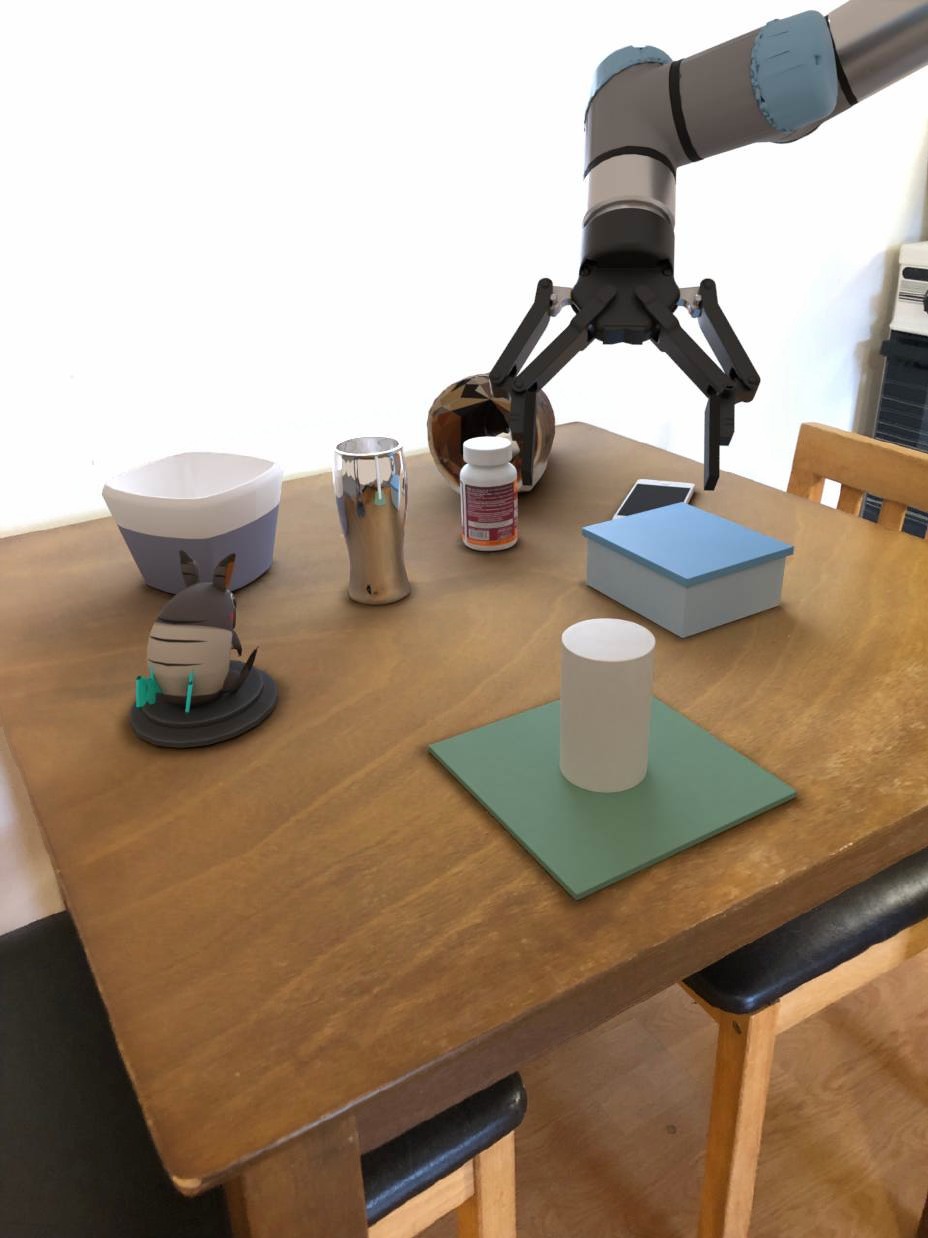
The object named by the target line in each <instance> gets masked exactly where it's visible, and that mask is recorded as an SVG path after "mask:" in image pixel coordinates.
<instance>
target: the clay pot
mask: <svg viewBox="0 0 928 1238" xmlns="http://www.w3.org/2000/svg"><path fill="white" fill-rule="evenodd" d="M490 372H491V371H489V372H486V373H477V374H473V375H469V376H466V377H464V378H462V379H459V380H458V381H455V382H454V383H451V384H450V385H448V386H447V387H446V388H444V389H443V390H442V391H441V393H439V394H438V396H437V397H435V399H434V400H433V402H432V403H431V406H430V408H429V410H428V412H427V413H428V414H427V420H426V431H427V432H426V433H427V445H428V449H429V452H430V455H431V457H432V459H433V462H434V465H435V466H436V468H437V470H438V472H439V473H440V474H441V476H442V477H443V478H444V480H445V481H447V483H448V484H449V486H450V488H451V489H453V491H454V492H456V493H458V494H459V495H461V490H460V472H461V470H462V468H463V467H464V466H465V465H466V464H468V463H466V462H465V461H464V459H463V454H464V452H463V444H464V442H465V441H467V440H469V439H473V438H478V437H498V436H499V435H501V434H507V435H509V434H510V430H509V421H510V406H511V402H510V401H509V400H508V399H505V398H503V397H502V398H495V397H493V396H492V394H491V389H490V382H489V373H490ZM517 376H518V375H517ZM517 376H516V377H517ZM536 401H537V417H536V433H535V450H534V467H533V483H532V486H525V485H522V476H521V462H522V447H523V441H515V443H516V445H517V447H518V449H519V451H518V453H517V454H516V456H515V458H514V460H511V461H509V463H511V464H512V465H513V466H514V467H515V469H516V471H517V495H518V494H523V493H528V492H531V491H532V490H533V488H534V486H536V484H537V483H538V481H539V480H540V479H541V478H542V476H543V474H544V473H545V471H546V469H547V467H548V460H549V456H550V453H551V451H552V448H553V443H554V440H555V437H556V417H555V411H554V409H553V405H552V403H551V401H550V399H549V397H548V395H547V393H545V391H544V390H543V388H542V389H541V390H540V391H539V392H538V393H537V394H536Z"/></svg>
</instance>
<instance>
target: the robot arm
mask: <svg viewBox="0 0 928 1238" xmlns="http://www.w3.org/2000/svg"><path fill="white" fill-rule="evenodd" d="M926 66H928V0H848V1H846V2H844V3H843V4H841V5H839V6H838V7H836V8H834V9H833V10H831V11H830V12H828V13H827V14H826V15H824V14H822V13H821V12H820V11H819V10H815V9H808V10H804V11H801V12H800V13H796V14H793V15H791V16H788V17H785V18H781V19H779V18H774V19H773V20H770V21H767V22H766V23H765V25H763V26H760V27H758V28H755V29H753V30H750V31H747V32H746V33H742V34H741V35H738V36H735V37H734V38H731V39H729V40H725V41H723V42H721V43H719V44H716V45H714V46H711V47H709V48H707V49H704V50H702V51H700V52H697V53H694V54H692V55H690V56H687V57H683V58H680V59H678V60H673V59H672V57H671V56H670V55H669V54H667V52H666V51H664V50H663V49H661V48H659V47H656V46H654V45H649V44H647V45H644V46H642V47H641V46H640V47H639V46H633V44H631V45H630V44H629V45H626V46H621V47H620V48H618V49H615V50H613V51H612V52H610V53H609V54H608V55H606V56H605V57H604V58H603V59H602V60H600V62H599V63H598V64H597V66H596V67H595V69H594V71H593V73H592V75H591V78H590V81H589V86H588V92H587V102H586V107H585V110H584V117H583V124H584V128H583V131H584V153H583V154H584V155H583V175H582V176H583V180H582V185H581V198H580V200H581V201H580V221H579V229H580V235H579V240H578V241H579V243H578V260H577V261H578V262H577V279H576V281H575V283H574V284H573V286H572V287H569V286H568V287H567V286H558V285H554V282H553V281H552V279H551V278H549V277H543V278H540V279H539V280H538V282H537V284H536V290H535V295H534V301H533V303H532V304H531V307H530V308H529V310H528V311H527V313H526V314H525V316H524V318H523V319H522V320H521V322H520V324H519V325H518V327H517V328H516V330H515V332H514V334H513V335H512V337H511V338H510V339H509V341H508V343H507V345H506V346H505V348H504V349H503V351H502V353H501V354H500V356H499V357H498V359H497V361H496V362H495V364H494V365H493V367H492V368H491V370H490V371H489V372H490V373H489V372H488V373H489V382H490V389H491V394H492V396H493V397H495V398H502V397H503V398H505V399H508V400H509V401H510V402H511V406H510V421H509V430H510V432H509V437H510V438H511V442H516V441H523V447H522V462H521V476H522V485H525V486H532V483H533V467H534V450H535V433H536V417H537V401H536V394H537V393H538V392H539V391H540V390H541V389H542V390H543V388H544V387H545V386H546V385H547V384H548V383H549V382H550V381H552V379H554V377H555V376H556V375H557V374H558V373H559V372H560V371H562V370H563V368H565V366H566V365H567V364H568V363H569V362H570V361H572V360H573V358H574V357H576V356H577V355H578V353H580V352H584V351H585V350H586V349H587V348H588V347H589V346H590V345H591V344H592V343H593V342H594V341H595V340H596V341H599V342H602V346H603V345H610V346H611V345H617V344H621V343H623V344H628V345H632V346H643V343H644V342H645V343H646V342H647V341H650V342H651V343H652V344H653V345H654V346H655V347H656V348H657V350H659V351H660V352H661V353H665V354H666V355H667V356H668V357H669V358H670V359H671V361H672V362H673V363H674V364H675V365H676V367H678V368H679V369H680V370H681V371H682V372H683V374H684V375H685V376H687V378H688V379H689V380H690V381H691V382H692V383H693V384H694V385H695V386H696V387H697V389H698V390H699V391H700V392H701V393H702V394H703V395H704V396H705V397H706V398H707V402H706V404H705V405H706V406H705V409H704V418H703V419H704V425H703V426H704V427H703V428H704V429H703V431H704V433H703V436H704V437H703V492H704V491H706V492H707V491H709V492H714V491H715V489H716V486H717V485H718V481H719V479H720V471H721V469H720V465H721V463H720V462H721V457H720V455H721V453H720V451H721V447H729V446H730V444H731V442H732V439H733V437H734V434H735V430H736V429H735V424H736V422H735V419H736V417H735V415H736V414H735V411H736V410H735V409H736V405H737V404H740V403H746V404H749V403H751V402H753V400H754V399H755V397H756V395H757V392H758V389H759V387H760V384H761V376H760V374H759V373H758V371H757V369H756V368H755V366H754V364H753V362H752V361H751V359H750V357H749V355H748V353H747V352H746V350H745V348H744V347H743V345H742V343H741V341H740V340H739V338H738V336H737V334H736V333H735V330H734V329H733V327H732V325H731V323H730V322H729V320H728V318H727V317H726V314H725V313H724V311H723V309H722V308H721V306H720V304H719V300H718V291H717V283H716V281H715V280H714V279H713V278H708V277H707V278H703V279H701V281H700V283H699V286H689V287H688V286H687V287H679V286H678V284H677V282H676V280H675V251H676V250H675V248H676V247H675V244H676V242H675V241H676V235H675V227H676V206H677V205H676V199H677V198H676V196H677V193H676V192H677V171H678V168H679V167H683V166H687V165H690V164H693V163H698V162H700V161H703V160H705V159H707V158H711V157H713V156H717V155H720V154H723V153H727V152H730V151H734V150H736V149H737V150H738V149H740V148H743V147H746V146H749V145H753V144H757V143H759V144H761V143H773V144H778V145H784V144H785V145H786V144H792V143H795V142H797V141H799V140H801V139H803V138H805V137H808V136H810V135H811V134H813V133H814V132H816V131H817V130H818V129H819V128H820V126H822V125H823V124H824V123H825V122H827V121H829V120H831V119H833V118H835V117H837V116H839V115H840V114H842V113H844V112H846V111H847V110H849V109H851V108H852V107H854V106H855V105H857V104H859V103H861V102H863V101H864V100H866V99H868V98H870V97H872V96H874V95H875V94H877V93H879V92H881V91H883V90H884V89H886V88H889V87H890V86H892V85H894V84H896V83H897V82H900V81H902V80H903V79H905V78H907V77H908V76H911V75H912V74H914V73H916V72H918V71H919V70H921V69H923V68H925V67H926ZM567 306H570V308H571V310H572V311H573V312H574V314H575V315H574V316H573V317H572V318H571V320H570V322H569V324H568V325H567V327H565V329H563V330H562V331H561V332H560V333H559V334H558V335H557V336H556V337H555V338H554V339H553V340H552V341H551V342H550V343H549V344H548V345H547V346H546V347H545V348H544V349H543V350H542V351H541V352H540V353H539V354H538V355H537V356H536V357H535V358H534V359H533V360H532V361H530V363H529V364H528V365H527V366H525V364H526V362H527V360H528V359H529V358H530V355H531V354H532V352H533V351H534V349H535V348H536V346H537V344H538V343H539V341H540V340H541V338H542V336H543V335H544V333H545V331H546V330H547V328H548V326H549V324H550V322H551V321H550V320H551V317H552V318H556V317H557V316H558V315H559V314H560V313H561V311H562V309H563V308H565V307H567ZM678 307H682V308H685V309H686V310H687V313H688V315H690V317H691V318H693V319H697V323H698V326H699V328H700V331H701V333H702V334H703V335H702V336H704V338H705V340H706V342H707V343H708V345H709V347H710V349H711V351H712V352H713V354H714V356H715V358H716V360H717V361H718V364H719V365H718V364H717V363H716V362H715V361H714V360H713V359H712V358H711V357H710V356H709V355H708V354H707V353H706V351H704V350H703V348H702V347H701V346H700V345H699V344H698V343H697V341H695V340H694V338H692V336H690V335H689V334H688V332H687V331H686V330H685V329H684V328H683V327H682V326H681V323H680V320H679V318H677V316H676V315H675V314H674V313H675V312H676V311H677V310H678ZM524 366H525V368H524V369H523V370H522V368H523V367H524ZM720 367H721V368H720ZM516 376H517V377H516Z"/></svg>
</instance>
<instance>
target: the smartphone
mask: <svg viewBox="0 0 928 1238" xmlns="http://www.w3.org/2000/svg"><path fill="white" fill-rule="evenodd" d="M695 487H696V485H695V483H694V482H681V481H669V480H657V479H646V478H645V479H643V478H639V479H637V480H636V482H635V483H634V485H633V486H632V488H631V490H630V491H629V492H628V494H627V495H626V497H625V498H624V500H623V501H622V503H621V505H620V506H619V507H618V509H617V510H616V512H615V513H614V515H613V516H612V519H611V520H614V519H618V518H622V517H626V516H630V515H634V514H638V513H641V512H645V511H649V510H653V509H657V508H661V507H665V506H669V505H673V504H677V503H680V502H683V503H686V504H688V505H689V502H690V500H691V499H692V497H693V494H694V493H695Z"/></svg>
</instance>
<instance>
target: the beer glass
mask: <svg viewBox="0 0 928 1238" xmlns="http://www.w3.org/2000/svg"><path fill="white" fill-rule="evenodd" d="M331 450H332V482H333V495H334V501H335V508H336V512H337V517H338V520H339V523H340V527H341V531H342V534H343V537H344V542H345V545H346V549H347V552H348V558H349V569H350V570H349V581H348V596H349V597H350V599H351V600H353V601H355V602H356V603H359V604H363V605H368V606H369V605H370V606H371V605H372V606H377V605H378V606H380V605H387V604H392V603H396V602H399V601H401V600H403V599H405V598H406V597H407V596H409V593H410V591H411V585H410V581H409V577H408V574H407V570H406V566H405V554H404V553H405V549H404V548H405V540H406V539H405V538H406V532H407V531H406V530H407V529H406V528H407V523H408V512H409V510H408V508H409V481H408V473H407V465H406V458H405V451H404V442H403V441H402V440H401V439H400V438H397V437H393V436H389V435H377V434H376V435H360V436H352V437H349V438H344V439H341V440H338V441H337V442H335V443H333V445H332V447H331Z"/></svg>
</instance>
